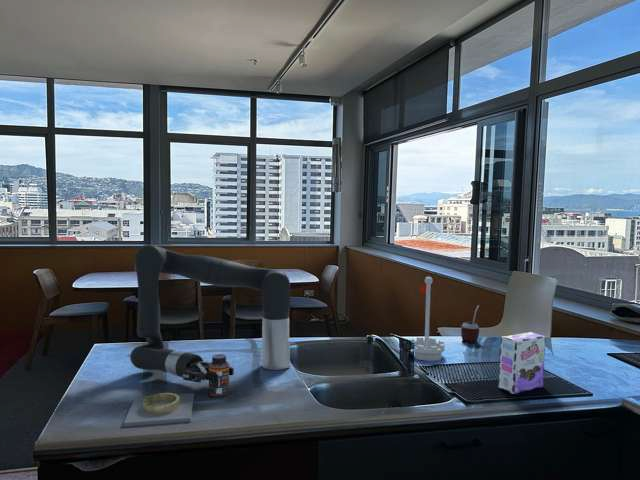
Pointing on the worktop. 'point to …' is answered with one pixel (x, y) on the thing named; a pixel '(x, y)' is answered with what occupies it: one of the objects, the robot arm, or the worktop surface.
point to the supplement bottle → (222, 369)
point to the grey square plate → (179, 415)
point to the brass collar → (164, 408)
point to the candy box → (521, 362)
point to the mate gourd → (470, 331)
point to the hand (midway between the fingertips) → (225, 375)
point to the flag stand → (429, 346)
